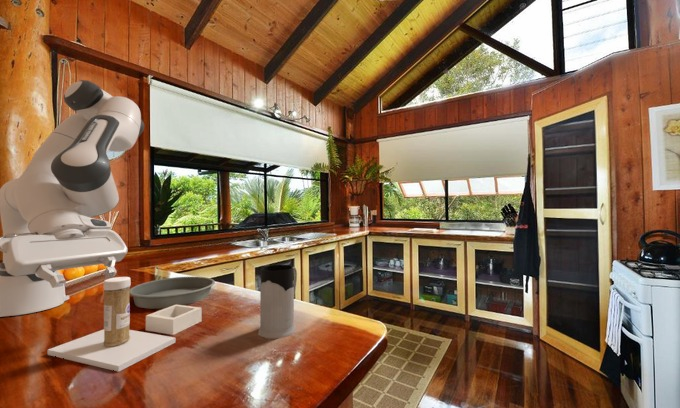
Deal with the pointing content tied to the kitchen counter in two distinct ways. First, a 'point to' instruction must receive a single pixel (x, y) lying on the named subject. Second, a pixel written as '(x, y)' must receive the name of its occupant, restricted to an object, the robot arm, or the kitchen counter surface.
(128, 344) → the white board
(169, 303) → the cake pan
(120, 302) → the sprinkles bottle
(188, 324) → the stand
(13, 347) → the kitchen counter surface
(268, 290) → the grey ceramic mug
